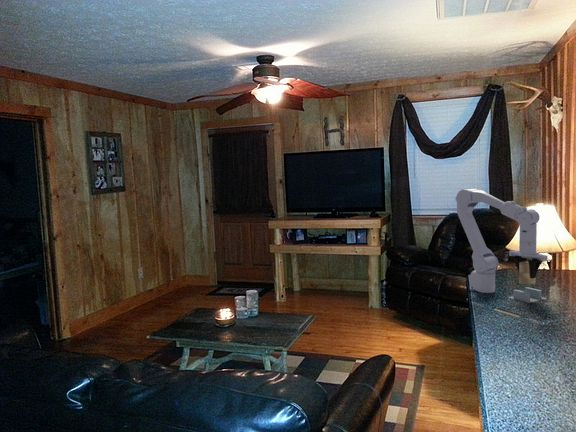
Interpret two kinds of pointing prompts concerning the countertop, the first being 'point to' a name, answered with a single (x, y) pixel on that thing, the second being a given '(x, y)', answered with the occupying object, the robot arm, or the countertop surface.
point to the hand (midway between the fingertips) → (527, 276)
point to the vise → (527, 295)
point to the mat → (509, 313)
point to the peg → (525, 274)
